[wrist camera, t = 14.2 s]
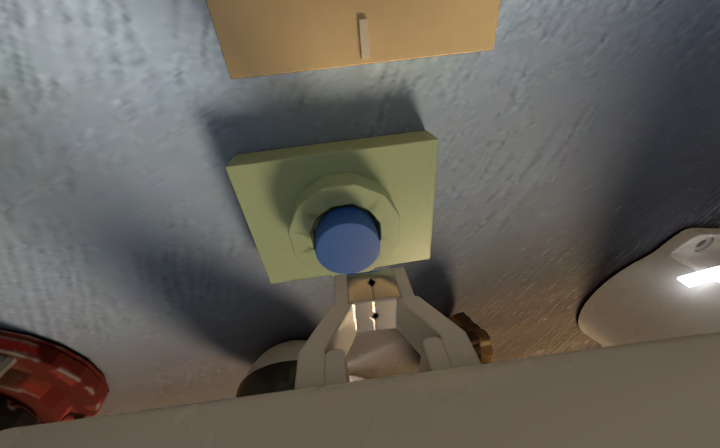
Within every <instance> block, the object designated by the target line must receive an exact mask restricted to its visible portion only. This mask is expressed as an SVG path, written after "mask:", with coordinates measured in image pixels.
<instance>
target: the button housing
mask: <svg viewBox="0 0 720 448" xmlns="http://www.w3.org/2000/svg"><path fill="white" fill-rule="evenodd" d="M437 151H438V138H436V137H435V136H433V135H432V134H430V133H429V132H427V131H426V130H423V131H415V132H407V133H400V134H392V135H384V136H376V137H369V138H361V139H353V140H345V141H337V142H330V143H322V144H314V145H306V146H299V147H291V148H283V149H275V150H267V151H260V152H252V153H244V154H237V155H235V156H234V157H233V159H232V160H231V161H230V162H229V163H228V164H227V165H226V166H225V168H226V170H227V173H228V176H229V178H230V181H231V183H232V186H233V188H234V191H235V193H236V196H237V199H238V201H239V204H240V206H241V209H242V211H243V214H244V216H245V219H246V222H247V224H248V227H249V229H250V232H251V234H252V237H253V239H254V242H255V245H256V247H257V250H258V252H259V255H260V257H261V260H262V262H263V265H264V267H265V270H266V273H267V275H268V278H269V280H270V283H271V284H272V283H279V282H285V281H292V280H298V279H304V278H311V277H317V276H323V275H330V276H335V275H342V274H338V273H334V272H332V271H329V270H328V269H326V268H325V267H323V266H322V265H321V264H320V262H319V261H318V259H317V257H316V253H315V239H316V228H317V225H318V223H319V221H320V220H321V218H322V217H323V216H324V215H325V214H327V213H328V212H330V211H332V210H334V209H336V208H340V207H354V208H358V209H360V210H362V211H364V212H366V213H367V214H368V215H369V216H370V217H371V218H372V220H373V222H374V224H375V227H376V230H377V233H378V236H379V239H380V252H379V255H378V257H377V259H376V260H375V262H374V263H373V264H372V265H370V266H369V267H368V268H366V269H365V270H363V271H360V272H357V273H361V272H369V271H371V270H372V269H374V268H375V267H381V266H387V265H394V264H400V263H406V262H413V261H419V260H426V259H430V251H431V237H432V223H433V208H434V194H435V180H436V165H437ZM346 275H347V274H346Z"/></svg>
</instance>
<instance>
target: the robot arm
mask: <svg viewBox="0 0 720 448" xmlns="http://www.w3.org/2000/svg"><path fill="white" fill-rule="evenodd" d="M334 300H335V306H331V307H330V309H329V310H328V312H327V313H326V314H325V316H324V317H323V319H322V320H321V322H320V323H319V324H318V326H317V327H316V329H315V330H314V332H313V333H312V334H311V336H310V337H309V339H308V340H307V341H306V343H305V344H304V346H303V347H302V349H301V350H300V351H299V353H298V361H297V370H296V379H295V388H294V390H287V391H280V392H272V393H265V394H258V395H250V396H243V397H236V398H228V399H221V400H214V401H206V402H199V403H192V404H184V405H177V406H170V407H162V408H155V409H148V410H140V411H133V412H126V413H118V414H111V415H104V416H96V417H89V418H82V419H74V420H67V421H60V422H52V423H45V424H37V425H29V426H21V427H14V428H9V429H5V430H1V431H0V448H720V228H688V229H686V230H683V231H682V232H680V233H678V234H677V235H675V236H674V237H672V238H671V239H670V240H668V241H667V242H666V243H665V244H663V245H662V246H661V247H660V248H658V249H657V250H656V251H654V252H653V253H651V254H650V255H648V256H646V257H644V258H642V259H641V260H639V261H637V262H635V263H633V264H631V265H630V266H628V267H626V268H625V269H623V270H622V271H620V272H619V273H617V274H616V275H614V276H613V277H612V278H610V279H609V280H608V281H606V282H605V283H604V284H603V285H602V286H601V287H600V288H599V289H597V290H596V291H595V292H594V294H593V295H592V296H591V297H590V298H589V299H588V301H587V302H586V303H585V305H584V306H583V308H582V310H581V312H580V315H579V319H578V325H579V328H580V330H581V331H582V332H583V333H585V334H586V335H588V336H589V337H591V338H592V339H594V340H595V341H597V342H598V343H599V344H600V345H601V346H602V347H601V348H594V349H586V350H579V351H572V352H564V353H557V354H550V355H543V356H535V357H528V358H521V359H513V360H506V361H499V362H491V363H484V364H481V362H480V360H479V358H478V356H477V354H476V352H475V350H474V348H473V346H472V344H471V342H470V340H469V338H468V336H467V334H466V332H465V331H464V330H463V329H461V328H460V327H459V326H457V325H456V324H455V323H453V322H452V321H451V320H449V319H448V318H447V317H445V316H444V315H443V314H441V313H440V312H439V311H438V310H436V309H435V308H434V307H432V306H431V305H430V304H428V303H427V302H426V301H424V300H423V299H422V298H420V297H419V296H414V293H413V290H412V287H411V284H410V282H409V279H408V276H407V273H406V270H405V268H404V267H401V268H393V269H386V270H378V271H370V272H361V273H350V274H347V275H346V274H342V275H335V276H334ZM393 328H397V330H398V331H399V332H400V333H401V334H402V336H403V337H404V338H405V339H406V340H407V341H408V342H409V343H410V344H411V346H412V347H413V348H414V349H415V350H416V351H417V352H418V353H419V354H420V355H421V359H420V367H419V372H418V373H411V374H404V375H397V376H389V377H382V378H375V379H367V380H360V381H353V382H350V380H349V374H348V368H347V362H346V355H347V353H348V351H349V349H350V347H351V345H352V343H353V340H354V338H355V336H356V333H361V332H367V331H374V330H383V329H393Z"/></svg>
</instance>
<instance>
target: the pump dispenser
mask: <svg viewBox="0 0 720 448" xmlns="http://www.w3.org/2000/svg"><path fill="white" fill-rule="evenodd" d="M306 341H307V340H292V341H287V342H283V343H280V344H278V345H275V346H274V347H272V348H270V349H268V350H267V351H266V352H264V353H263V354H262V355H261V356H260V357H259V358H258V359H257V360H256V361H255V363H254V364H253V365H252V367H251V368H250V370H249V372H248V374H247V376H246V378H244V380H243V381H242V382H241V383H240V385H239V387H238V390H237V394H236V397H243V396H250V395H258V394H265V393H272V392H280V391H287V390H294V388H295V379H296V370H297V361H298V353H299V351H300V350H301V349H302V347H303V346H304V344H305V343H306Z"/></svg>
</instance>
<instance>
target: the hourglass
mask: <svg viewBox="0 0 720 448" xmlns="http://www.w3.org/2000/svg"><path fill="white" fill-rule="evenodd" d="M108 392H109V389H108V386H107V383H106V379H105V377H104V376H103V375H102V374H101V373H100V372H99V371H98V370H97V369H96V368H95V367H94V366H93V365H92V364H91V363H90V362H89V361H87V360H85V359H84V358H82V357H80V356H78V355H77V354H75V353H73V352H71V351H69V350H68V349H66V348H64V347H61V346H58V345H55V344H52V343H50V342H47V341H44V340H41V339H38V338H35V337H33V336H30V335H25V334H20V333H15V332H10V331H5V330H0V431H1V430H5V429H9V428H14V427H21V426H29V425H37V424H45V423H52V422H60V421H67V420H74V419H82V418H89V417H95V416H96V414H97V413H98V411H99V410H100V408H101V407H102V404H103V403H104V401H105V399H106V397H107V395H108Z"/></svg>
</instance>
